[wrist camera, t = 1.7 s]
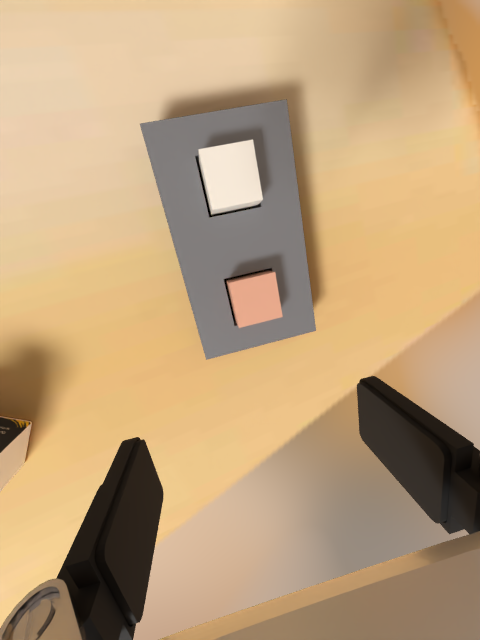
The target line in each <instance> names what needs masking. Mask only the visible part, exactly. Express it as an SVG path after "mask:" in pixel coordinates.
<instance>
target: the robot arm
mask: <svg viewBox="0 0 480 640" xmlns="http://www.w3.org/2000/svg"><path fill="white" fill-rule="evenodd" d="M357 396H358V413H359V431H360V436H361V438H362V440H363V441H364V442H365V444H366V445H367V446H368V447H369V448H370V449H371V450H372V452H373V453H374V454H375V455H376V456H377V457H378V459H379V460H380V461H381V462H382V463H383V464H384V465H385V467H386V468H387V469H388V470H389V471H390V472H391V473H392V475H393V476H394V477H395V478H396V479H397V480H398V481H399V483H400V484H401V485H402V486H403V487H404V488H405V489H406V491H407V492H408V493H409V494H410V495H411V496H412V498H413V499H414V500H415V501H416V502H417V503H418V504H419V506H420V507H421V508H422V509H423V510H424V511H425V512H426V514H427V515H428V516H429V517H430V518H431V519H432V520H433V521H434V522H435V523H440V524H441V525H442V526H443V528H444V529H445V530H446V531H447V532H448V533H449V534H451V533H454V532H457V531H460V530H463V529H465V530H466V531H467V532H468V533H469V535H466V536H463V537H460V538H456V539H453V540H450V541H446V542H443V543H440V544H437V545H434V546H431V547H428V548H425V549H422V550H419V551H416V552H413V553H410V554H407V555H404V556H401V557H398V558H395V559H392V560H388V561H385V562H382V563H379V564H376V565H373V566H371V567H368V568H365V569H361V570H358V571H355V572H352V573H350V574H347V575H344V576H341V577H338V578H335V579H332V580H329V581H326V582H323V583H320V584H317V585H314V586H311V587H308V588H305V589H302V590H299V591H296V592H293V593H290V594H287V595H285V596H282V597H279V598H276V599H273V600H270V601H267V602H264V603H261V604H258V605H255V606H252V607H250V608H247V609H244V610H241V611H238V612H235V613H232V614H229V615H226V616H224V617H221V618H218V619H215V620H212V621H209V622H206V623H203V624H201V625H198V626H195V627H192V628H189V629H186V630H184V631H180V632H178V633H175V634H173V635H170V636H167V637H164V638H162V639H159V640H480V451H479V450H478V449H477V448H475V447H474V446H473V445H474V444H473V443H472V442H470V441H469V440H467V439H466V438H465V437H463V436H462V435H460V434H459V433H457V432H456V431H454V430H453V429H451V428H450V427H449V426H447V425H446V424H444V423H443V422H441V421H440V420H438V419H437V418H435V417H434V416H432V415H431V414H430V413H428V412H427V411H425V410H424V409H422V408H421V407H419V406H418V405H416V404H415V403H413V402H412V401H411V400H409V399H408V398H406V397H405V396H403V395H402V394H400V393H399V392H397V391H396V390H395V389H393V388H391V387H390V386H389V385H387V384H385V383H384V382H383V381H381V380H380V379H378V378H377V377H375V376H371V377H367V378H363V379H361V380H360V383H358V384H357ZM162 502H163V488H162V485H161V483H160V480H159V477H158V475H157V472H156V469H155V467H154V464H153V461H152V458H151V456H150V453H149V450H148V448H147V445H146V442H145V440H140V438H139V437H136V438H132V439H128V440H124V441H123V442H122V443H121V445H120V447H119V450H118V452H117V454H116V456H115V458H114V461H113V463H112V465H111V467H110V469H109V471H108V474H107V476H106V478H105V480H104V482H103V484H102V485H101V486H100V487H99V489H98V491H97V493H96V495H95V497H94V499H93V501H92V504H91V506H90V508H89V510H88V512H87V514H86V516H85V519H84V521H83V523H82V525H81V527H80V529H79V531H78V533H77V536H76V538H75V540H74V542H73V544H72V546H71V548H70V551H69V553H68V555H67V557H66V559H65V561H64V563H63V566H62V568H61V570H60V572H59V574H58V576H57V578H56V579H52V580H48V581H46V582H44V583H42V584H40V585H39V586H37V587H36V588H35V589H33V590H32V591H31V592H29V593H28V594H27V595H26V596H25V597H24V598H23V599H22V600H21V601H20V602H19V603H18V604H17V605H16V607H15V608H14V609H13V610H12V612H11V613H10V614H9V616H8V617H7V618H6V620H5V621H4V623H3V625H2V626H1V628H0V640H133V637H134V631H135V626H136V623H138V622H140V620H141V618H142V615H143V610H144V604H145V599H146V592H147V587H148V582H149V576H150V570H151V565H152V559H153V553H154V548H155V542H156V536H157V531H158V525H159V519H160V514H161V508H162Z"/></svg>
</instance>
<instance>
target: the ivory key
mask: <svg viewBox="0 0 480 640" xmlns="http://www.w3.org/2000/svg"><path fill="white" fill-rule="evenodd" d="M198 151H199V165H200V169H201V174H202V178H203V182H204V187H205V191H206V196H207V200H208V204H209V209H210V213H211V216H212V215H217V214H221V213H226V212H231V211H236V210H241V209H246V208H250V207H255V206H257V205H258V204H259V203H260V202H261V201H262V200H263V196H262V190H261V185H260V179H259V173H258V167H257V161H256V155H255V149H254V143H253V140H248V141H242V142H237V143H231V144H225V145H220V146H214V147H209V148H203V149H198Z"/></svg>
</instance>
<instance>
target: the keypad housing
mask: <svg viewBox="0 0 480 640" xmlns="http://www.w3.org/2000/svg"><path fill="white" fill-rule="evenodd" d="M140 126H141V130H142V133H143V137H144V140H145V144H146V147H147V151H148V155H149V158H150V162H151V165H152V169H153V172H154V176H155V179H156V183H157V186H158V190H159V194H160V197H161V201H162V204H163V208H164V211H165V215H166V218H167V222H168V225H169V229H170V233H171V236H172V240H173V243H174V247H175V250H176V254H177V257H178V261H179V264H180V268H181V272H182V275H183V279H184V282H185V286H186V289H187V293H188V296H189V300H190V303H191V307H192V311H193V314H194V318H195V321H196V325H197V328H198V332H199V335H200V339H201V342H202V346H203V350H204V353H205V357H206V360H207V359H211V358H215V357H218V356H222V355H226V354H230V353H233V352H237V351H241V350H245V349H249V348H252V347H256V346H260V345H264V344H267V343H271V342H275V341H279V340H283V339H286V338H290V337H294V336H298V335H302V334H305V333H309V332H313V331H316V327H315V319H314V311H313V303H312V295H311V287H310V279H309V272H308V264H307V256H306V248H305V240H304V232H303V224H302V216H301V208H300V200H299V193H298V185H297V177H296V169H295V161H294V153H293V145H292V137H291V129H290V122H289V114H288V106H287V99H286V100H280V101H274V102H268V103H262V104H256V105H250V106H244V107H238V108H232V109H226V110H220V111H214V112H208V113H202V114H196V115H190V116H183V117H177V118H171V119H165V120H159V121H153V122H147V123H141V124H140ZM248 140H253V143H254V149H255V155H256V161H257V167H258V173H259V179H260V185H261V190H262V196H263V200H262V201H261V202H260V203H259V204H258V205H257V206H255V207H252V208H253V209H248V210H244V211H239V212H234V213H229V214H224V215H220V216H215V217H210V218H209V214H208V210H207V205H206V201H205V197H204V193H203V188H202V184H201V180H200V175H199V171H198V170H201V169H200V165H199V151H198V149H203V148H209V147H214V146H220V145H225V144H231V143H237V142H242V141H248ZM260 270H264V271H272V272H275V274H276V280H277V286H278V292H279V298H280V304H281V310H282V316H283V317H280V318H277V319H273V320H269V321H265V322H261V323H257V324H253V325H249V326H245V327H241V328H239V327H238V325H237V323H236V321H235V317H232V313H231V309H230V304H229V300H228V296H227V291H226V287H225V283H224V279H226V278H230V277H235V276H239V275H243V274H248V273H252V272H256V271H260Z"/></svg>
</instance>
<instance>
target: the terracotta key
mask: <svg viewBox="0 0 480 640" xmlns="http://www.w3.org/2000/svg"><path fill="white" fill-rule="evenodd" d="M226 282H227V287H228V291H229V295H230V300H231V304H232V309H233V313H234V317H235V321H236V323H237V325H238V327H239V328H241V327H245V326H249V325H253V324H257V323H261V322H265V321H269V320H273V319H277V318H280V317H283V316H282V310H281V304H280V298H279V292H278V286H277V280H276V274H275V272H272V271H264V272H259V273H255V274H251V275H247V276H242V277H238V278H234V279H230V280H226Z"/></svg>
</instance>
